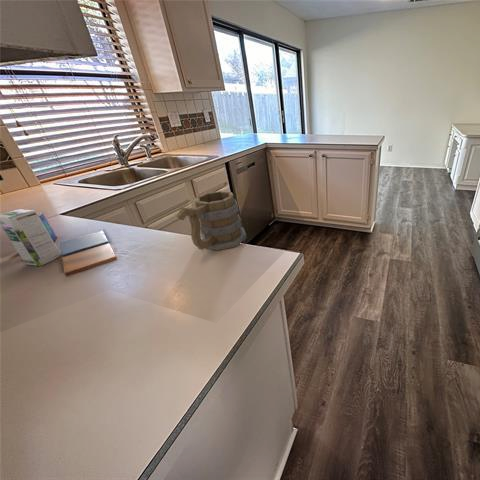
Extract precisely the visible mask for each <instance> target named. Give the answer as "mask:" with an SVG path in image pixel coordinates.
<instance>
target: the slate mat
mask: <svg viewBox="0 0 480 480" xmlns="http://www.w3.org/2000/svg"><path fill="white" fill-rule="evenodd" d="M105 244H110V242H109V240H108V238H107V236H106V234H105V232H104V230H100V231H97V232H93V233H89V234H85V235H82V236H78V237H74V238H71V239H67V240H64V241H60V242H59V245H60V251H61V252H60V253H61V257H66V256H69V255H72V254H76V253H79V252H82V251H85V250H89V249H92V248H95V247H99V246H102V245H105Z"/></svg>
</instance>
